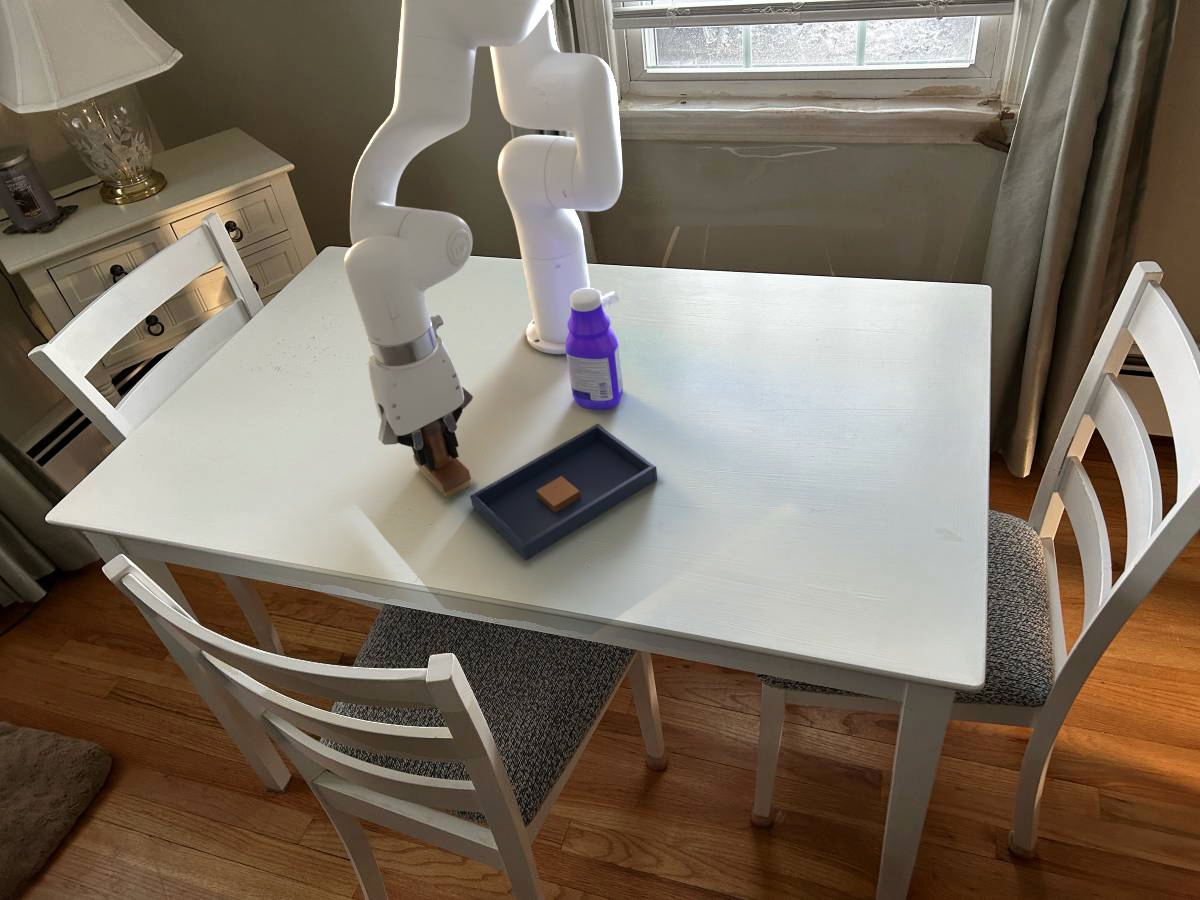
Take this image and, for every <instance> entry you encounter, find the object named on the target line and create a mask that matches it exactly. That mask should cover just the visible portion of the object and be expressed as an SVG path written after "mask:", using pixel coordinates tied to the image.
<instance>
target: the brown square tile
mask: <svg viewBox="0 0 1200 900" xmlns="http://www.w3.org/2000/svg"><path fill="white" fill-rule="evenodd" d="M536 493H537V497H538V498H539V499H540V500H541V501H542V502H543V503H544V504H546V505H547V506H548V507H549V508H550V509H551V510H552V511H553V512H555V513H556V512H558V511H560V510H561V509H563V508H565V507H566V506H568V505H570V504H571V503H573V502H575V501H576V500H578V499H580V498H581V496H580V491H579V490H578V489H577V488H575V487H574V486H573V485H572V484H571V483H569V482H568V481H567V480H566V479H565V478H564V477H562V476H560V477H559V478H557V479H555V480H553V481H552V482H550V483H548V484H547V485H545V486H543V487H541V488H540V489H538V490H536Z"/></svg>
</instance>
